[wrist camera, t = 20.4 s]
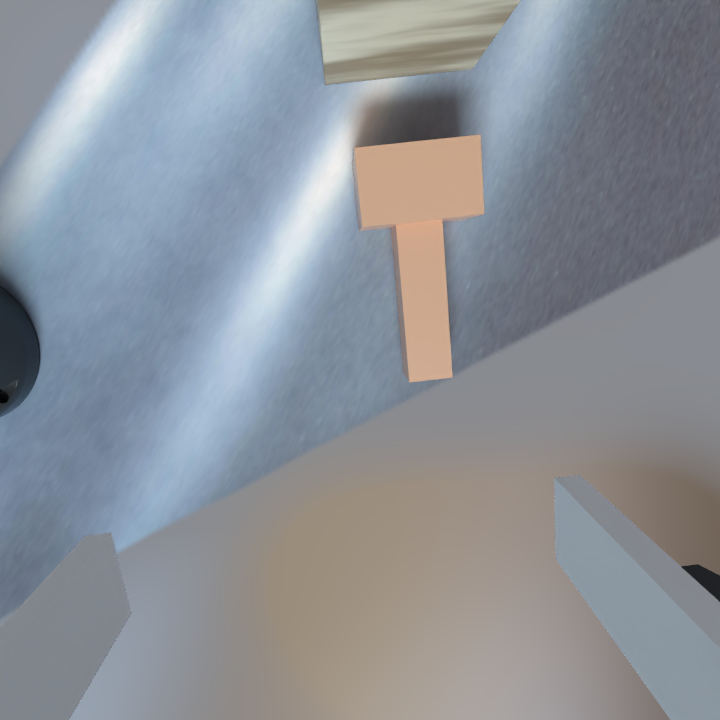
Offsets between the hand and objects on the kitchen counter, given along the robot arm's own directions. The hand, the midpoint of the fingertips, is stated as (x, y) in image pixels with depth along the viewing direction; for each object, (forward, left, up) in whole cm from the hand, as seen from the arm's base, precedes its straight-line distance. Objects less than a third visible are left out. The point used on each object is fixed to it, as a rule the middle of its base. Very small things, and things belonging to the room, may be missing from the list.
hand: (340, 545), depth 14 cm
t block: (+8, +7, -33) cm, 35 cm away
